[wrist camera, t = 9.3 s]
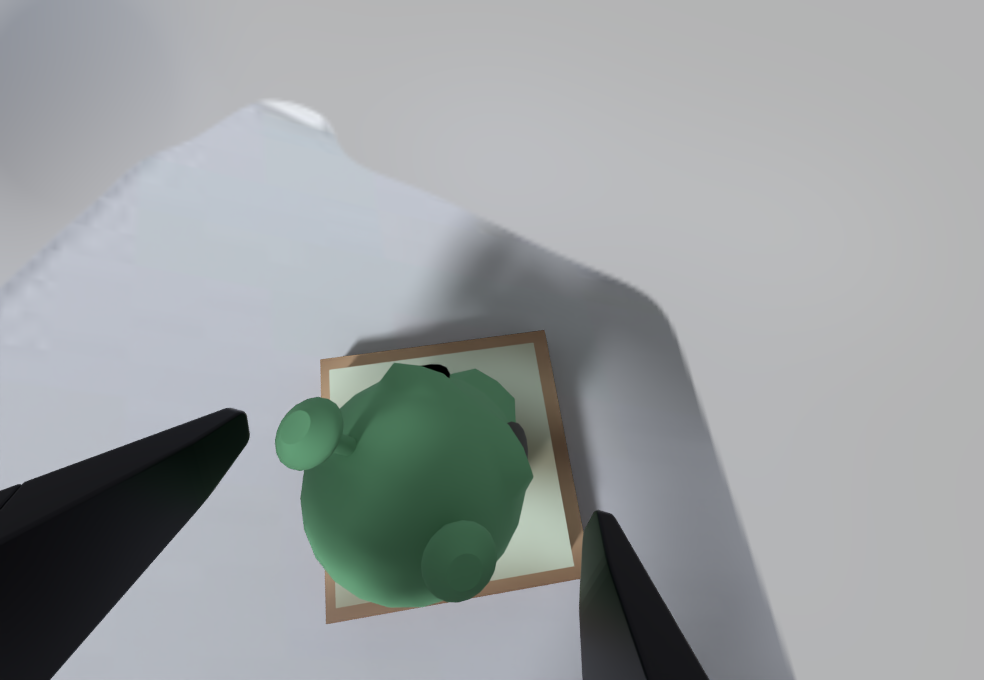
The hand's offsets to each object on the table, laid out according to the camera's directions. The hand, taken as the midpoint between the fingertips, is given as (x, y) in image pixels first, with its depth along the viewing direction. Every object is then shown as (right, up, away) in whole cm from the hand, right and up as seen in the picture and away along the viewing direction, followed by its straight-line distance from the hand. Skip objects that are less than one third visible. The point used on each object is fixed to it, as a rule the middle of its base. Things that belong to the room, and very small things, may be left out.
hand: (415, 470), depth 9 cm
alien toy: (0, -2, +8) cm, 8 cm away
